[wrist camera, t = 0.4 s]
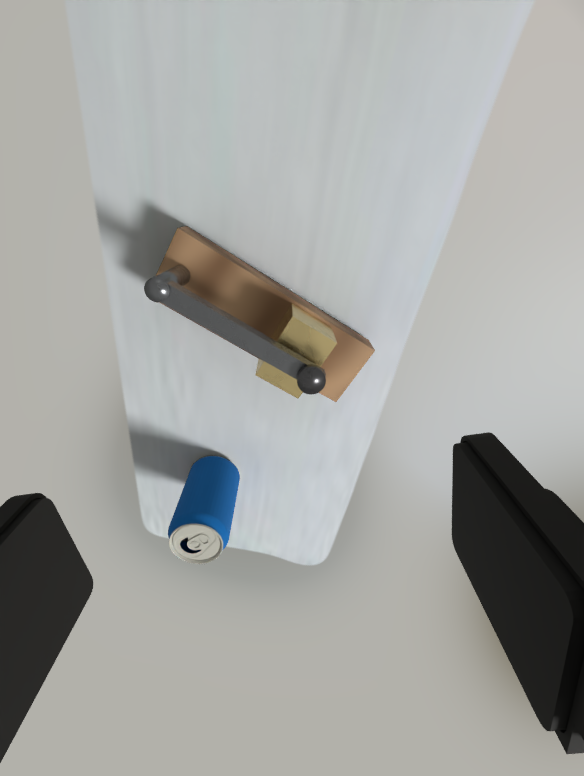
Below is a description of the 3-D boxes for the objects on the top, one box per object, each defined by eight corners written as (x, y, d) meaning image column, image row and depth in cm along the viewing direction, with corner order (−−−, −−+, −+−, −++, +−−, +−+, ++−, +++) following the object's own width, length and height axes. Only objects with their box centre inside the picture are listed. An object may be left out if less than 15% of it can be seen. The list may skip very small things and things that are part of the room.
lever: (166, 281, 36) (136, 299, 29) (177, 258, 35) (149, 270, 28) (310, 365, 39) (315, 399, 32) (323, 346, 38) (331, 377, 31)
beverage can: (181, 467, 50) (151, 539, 39) (219, 443, 49) (199, 512, 38) (212, 498, 52) (192, 575, 42) (250, 477, 51) (239, 550, 40)
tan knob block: (259, 355, 39) (255, 376, 34) (292, 302, 37) (292, 317, 32) (297, 377, 40) (298, 400, 35) (331, 327, 38) (337, 344, 33)
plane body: (156, 285, 40) (142, 293, 36) (184, 223, 37) (173, 225, 34) (335, 388, 45) (338, 403, 42) (370, 340, 43) (378, 352, 39)
